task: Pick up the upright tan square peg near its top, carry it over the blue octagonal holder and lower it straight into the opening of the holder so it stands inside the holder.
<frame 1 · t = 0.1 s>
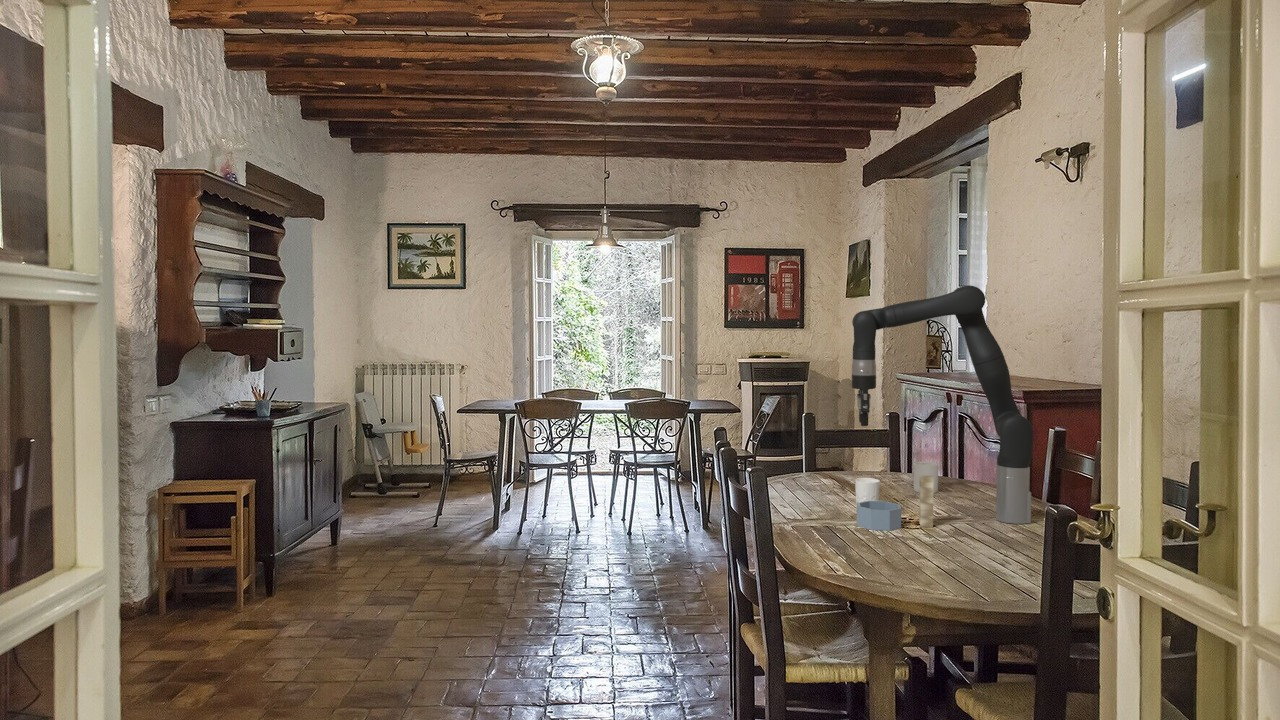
hand: (863, 424, 255), 29 cm above the table, fingers open, 8 cm apart
tan square peg: (925, 525, 242), on the table
blue octagonal holder: (878, 525, 243), on the table
mug: (925, 491, 291), on the table
white cup: (867, 510, 262), on the table
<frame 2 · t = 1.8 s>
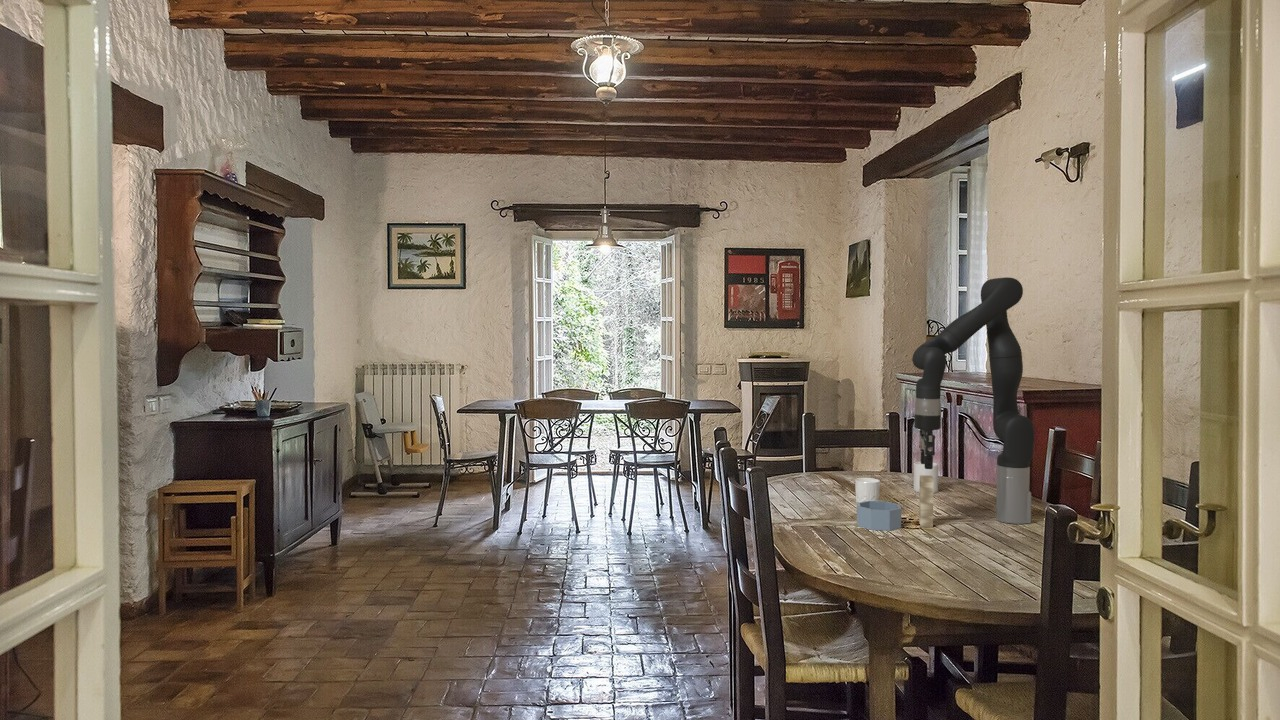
hand: (926, 466, 241), 18 cm above the table, fingers open, 8 cm apart
nothing on the table moved.
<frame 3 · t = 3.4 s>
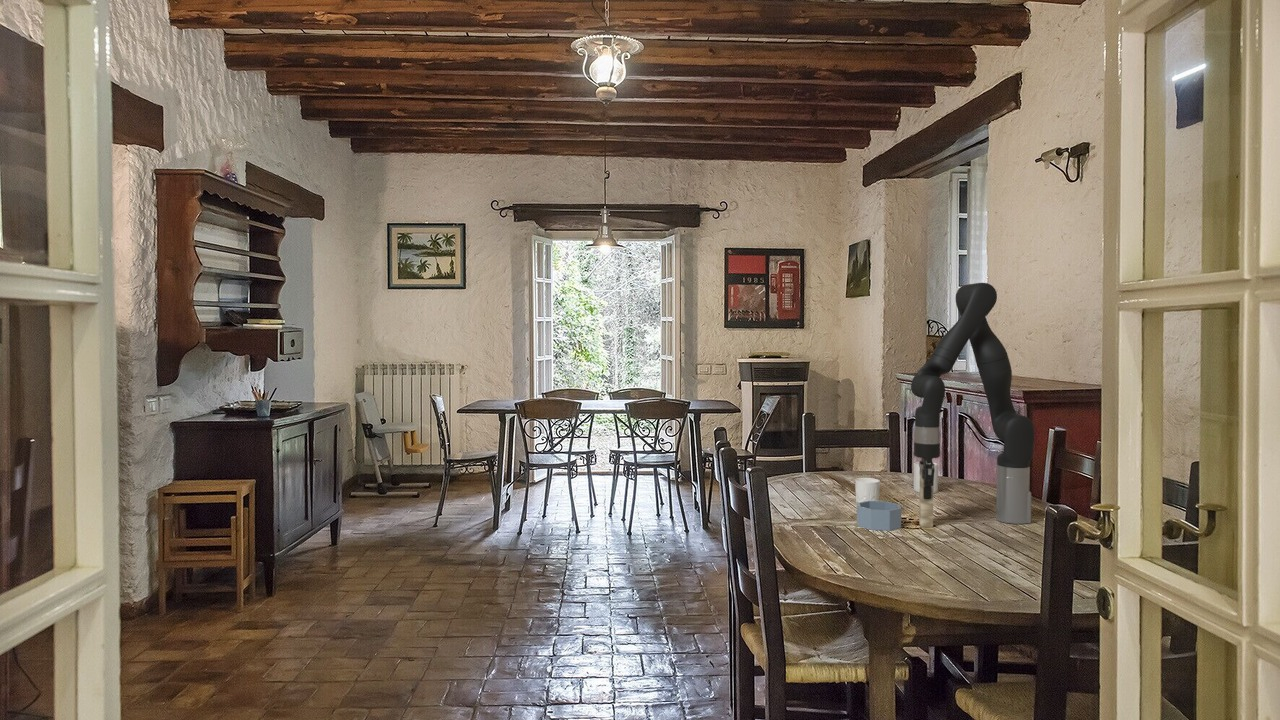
hand: (926, 497, 242), 9 cm above the table, fingers closed on tan square peg, 3 cm apart
tan square peg: (926, 525, 242), on the table, touching gripper
everything else where it was.
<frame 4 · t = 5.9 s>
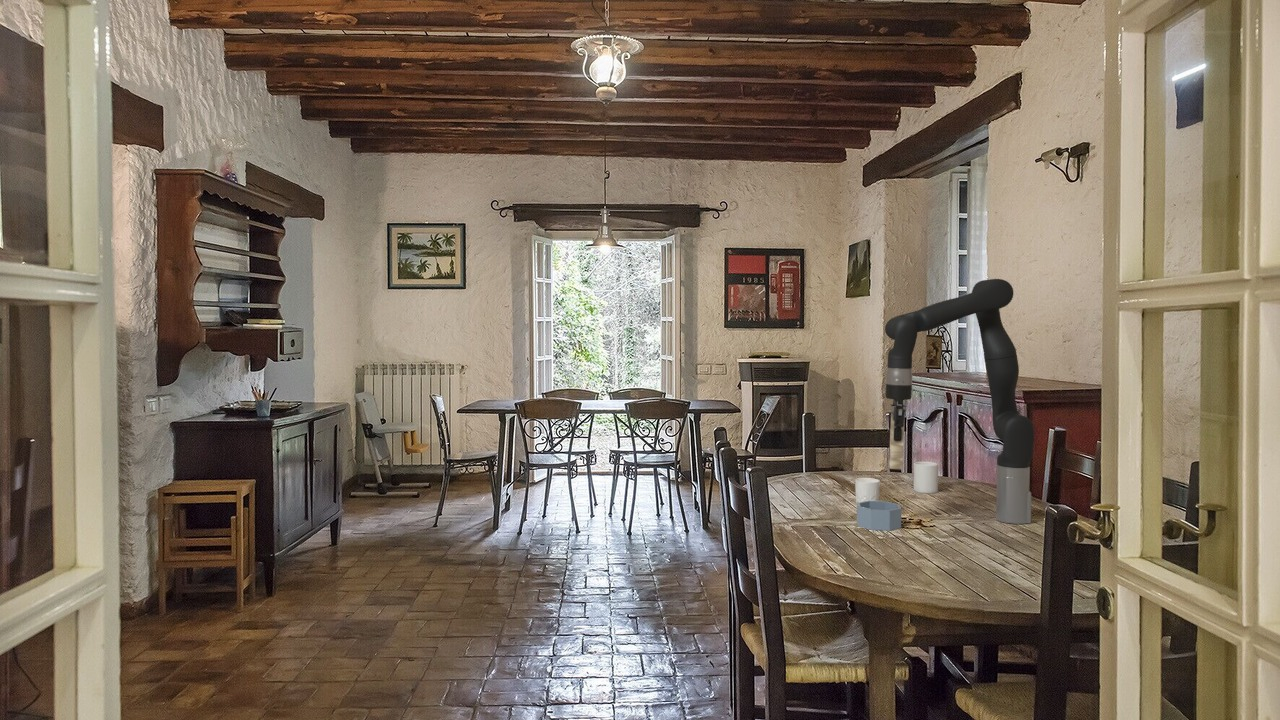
hand: (896, 439, 241), 26 cm above the table, fingers closed on tan square peg, 3 cm apart
tan square peg: (895, 468, 242), point 18 cm above the table, touching gripper
everything else where it was.
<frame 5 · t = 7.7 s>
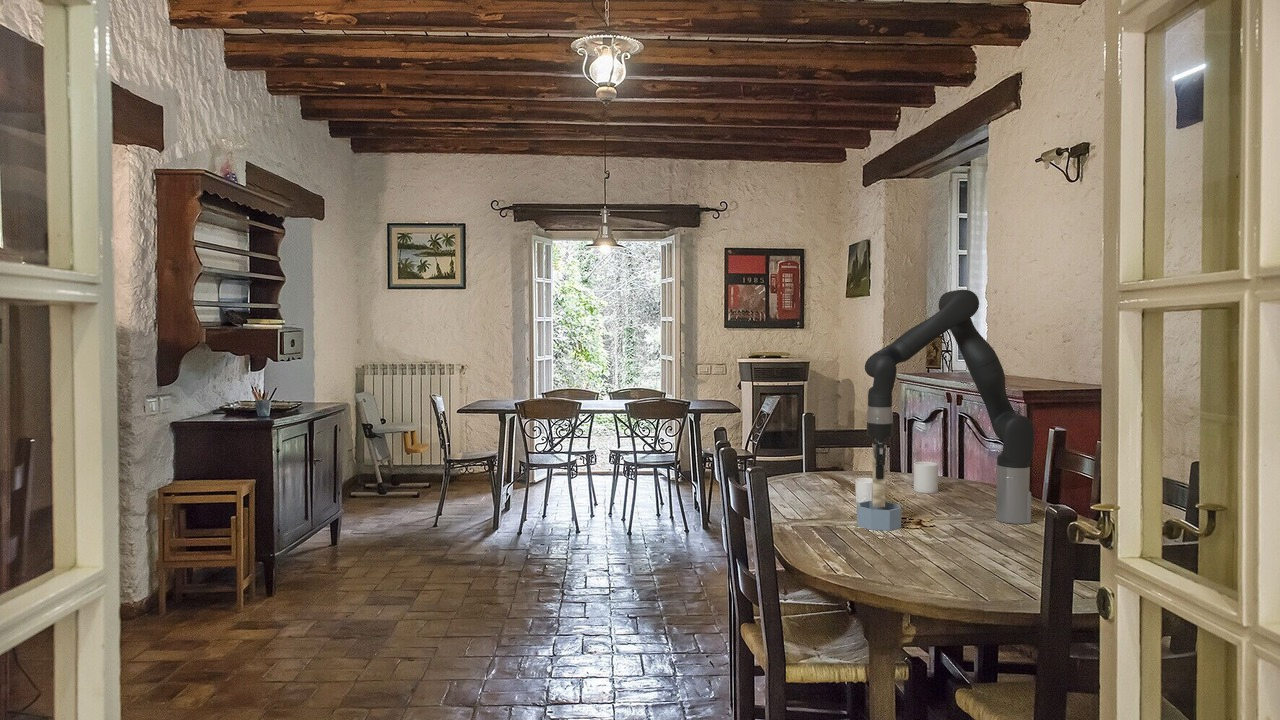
hand: (879, 477, 242), 15 cm above the table, fingers closed on tan square peg, 3 cm apart
tan square peg: (878, 505, 243), point 6 cm above the table, touching gripper
everything else where it was.
when the fingers open (10 cm above the table, at t = 8.9 s): tan square peg stays where it is, resting on blue octagonal holder.
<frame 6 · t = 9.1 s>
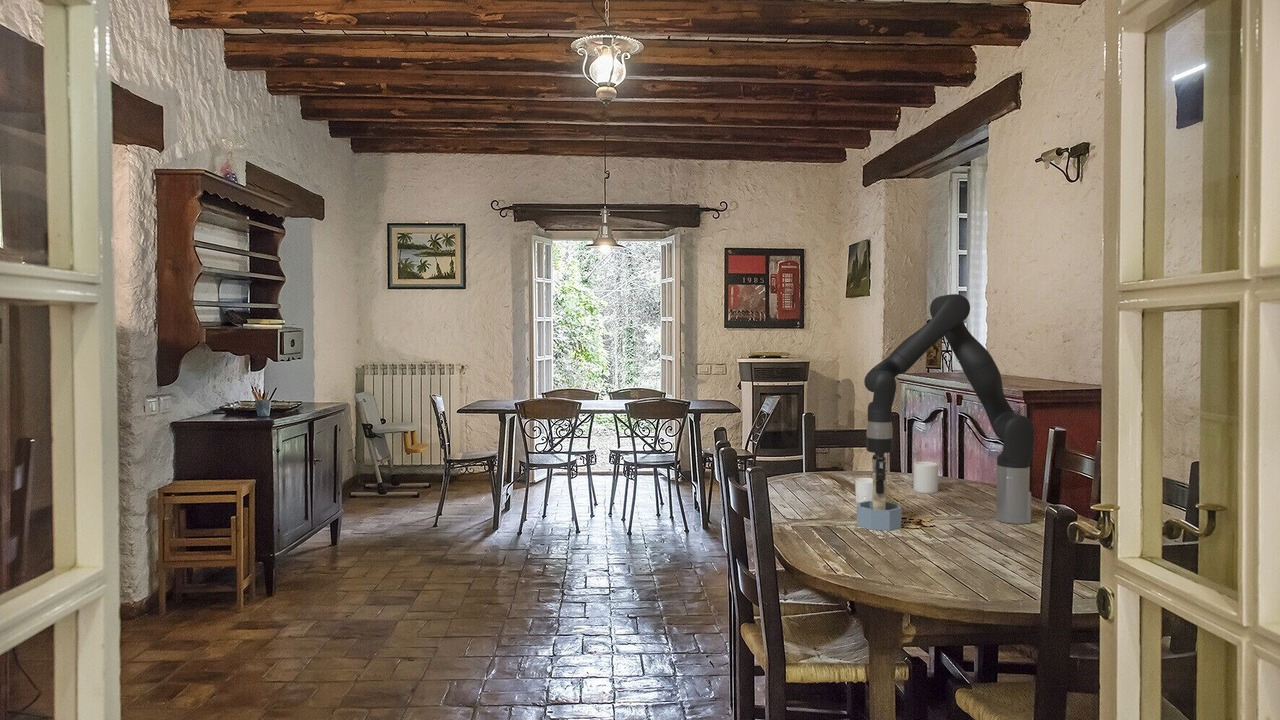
hand: (878, 491, 242), 10 cm above the table, fingers open, 5 cm apart
tan square peg: (878, 522, 243), point 1 cm above the table, touching blue octagonal holder
everything else where it was.
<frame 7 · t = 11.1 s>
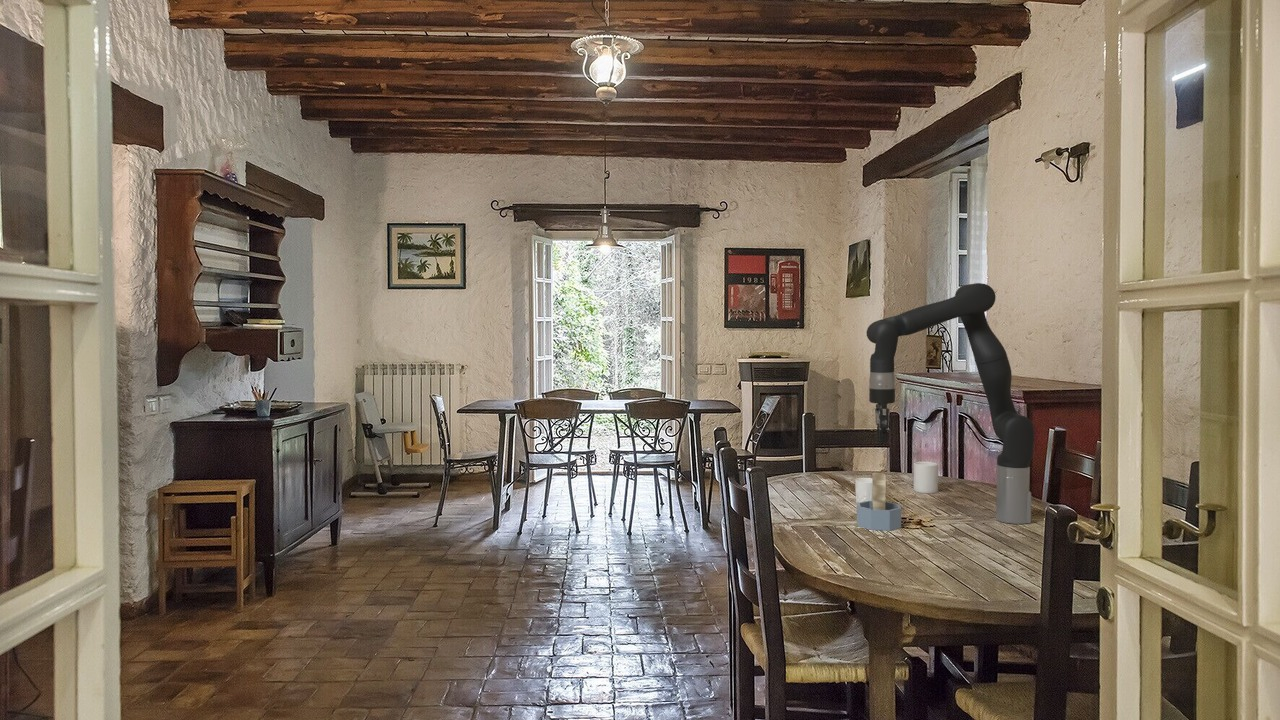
hand: (882, 440, 242), 26 cm above the table, fingers open, 8 cm apart
nothing on the table moved.
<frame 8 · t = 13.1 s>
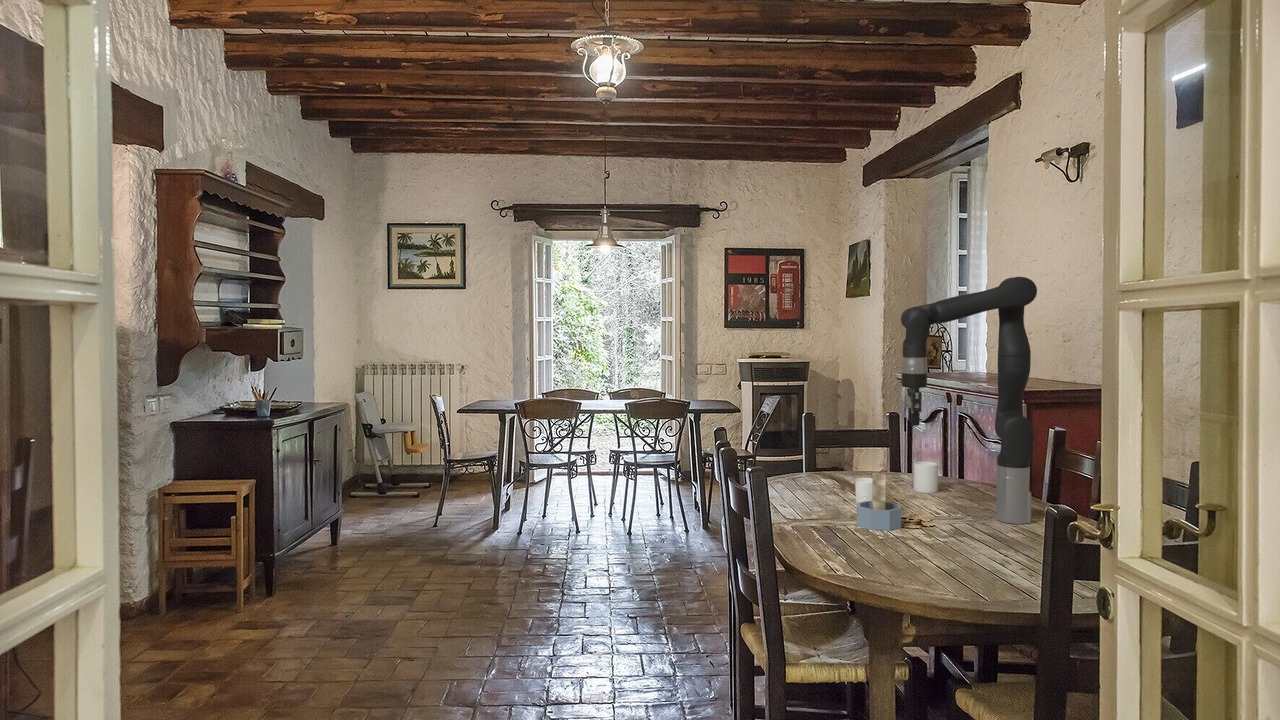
hand: (913, 423, 248), 30 cm above the table, fingers open, 8 cm apart
nothing on the table moved.
at the end: tan square peg 0.0 cm off-centre on the blue octagonal holder, point 0.6 cm above the blue octagonal holder's base; tan square peg tilted 0°; the gripper is holding nothing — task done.
